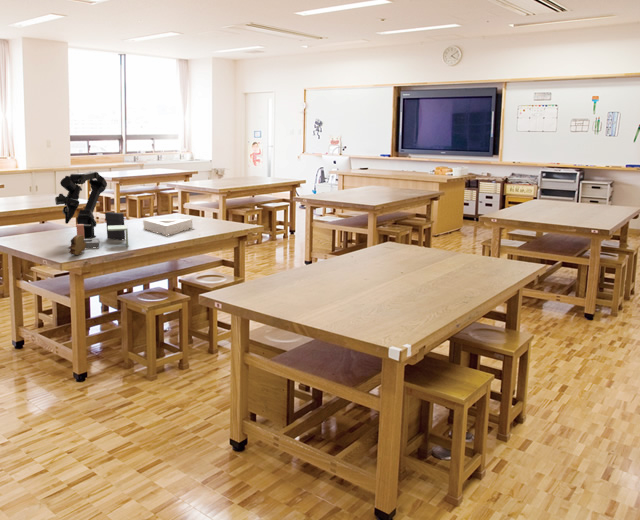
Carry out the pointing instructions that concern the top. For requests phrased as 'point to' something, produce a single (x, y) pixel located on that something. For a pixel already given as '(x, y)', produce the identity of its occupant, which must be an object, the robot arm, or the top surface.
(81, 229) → the peg
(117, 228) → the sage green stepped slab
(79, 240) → the wooden carving
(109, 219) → the black flat block
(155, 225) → the white slab
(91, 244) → the socket block
